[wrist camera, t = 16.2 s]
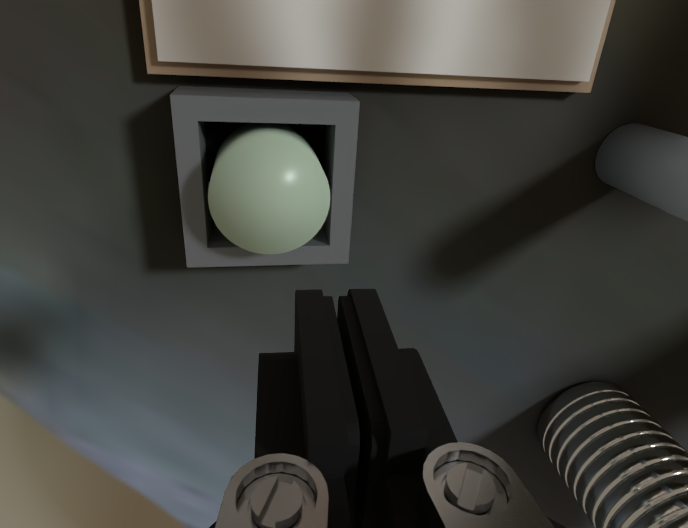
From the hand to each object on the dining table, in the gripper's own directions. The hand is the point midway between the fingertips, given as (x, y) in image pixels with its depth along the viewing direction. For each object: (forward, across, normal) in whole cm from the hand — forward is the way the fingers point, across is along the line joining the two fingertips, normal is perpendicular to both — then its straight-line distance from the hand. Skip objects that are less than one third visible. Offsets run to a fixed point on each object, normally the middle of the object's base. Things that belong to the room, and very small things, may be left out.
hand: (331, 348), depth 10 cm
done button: (+13, +1, 0) cm, 13 cm away
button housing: (+13, +2, 0) cm, 13 cm away
